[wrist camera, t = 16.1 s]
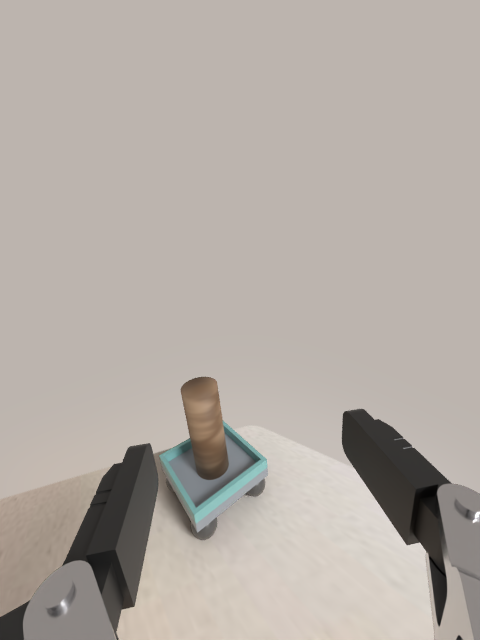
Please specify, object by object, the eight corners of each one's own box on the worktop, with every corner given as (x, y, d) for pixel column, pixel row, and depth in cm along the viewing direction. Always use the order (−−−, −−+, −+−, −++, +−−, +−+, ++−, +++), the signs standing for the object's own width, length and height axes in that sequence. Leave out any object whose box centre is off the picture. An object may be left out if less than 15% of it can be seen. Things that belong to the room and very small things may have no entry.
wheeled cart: (200, 553, 31) (193, 516, 30) (165, 486, 41) (157, 455, 39) (270, 492, 38) (268, 459, 36) (226, 446, 48) (222, 419, 46)
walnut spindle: (206, 486, 35) (190, 402, 31) (191, 464, 39) (174, 386, 35) (235, 466, 38) (224, 386, 33) (217, 447, 41) (206, 373, 37)
